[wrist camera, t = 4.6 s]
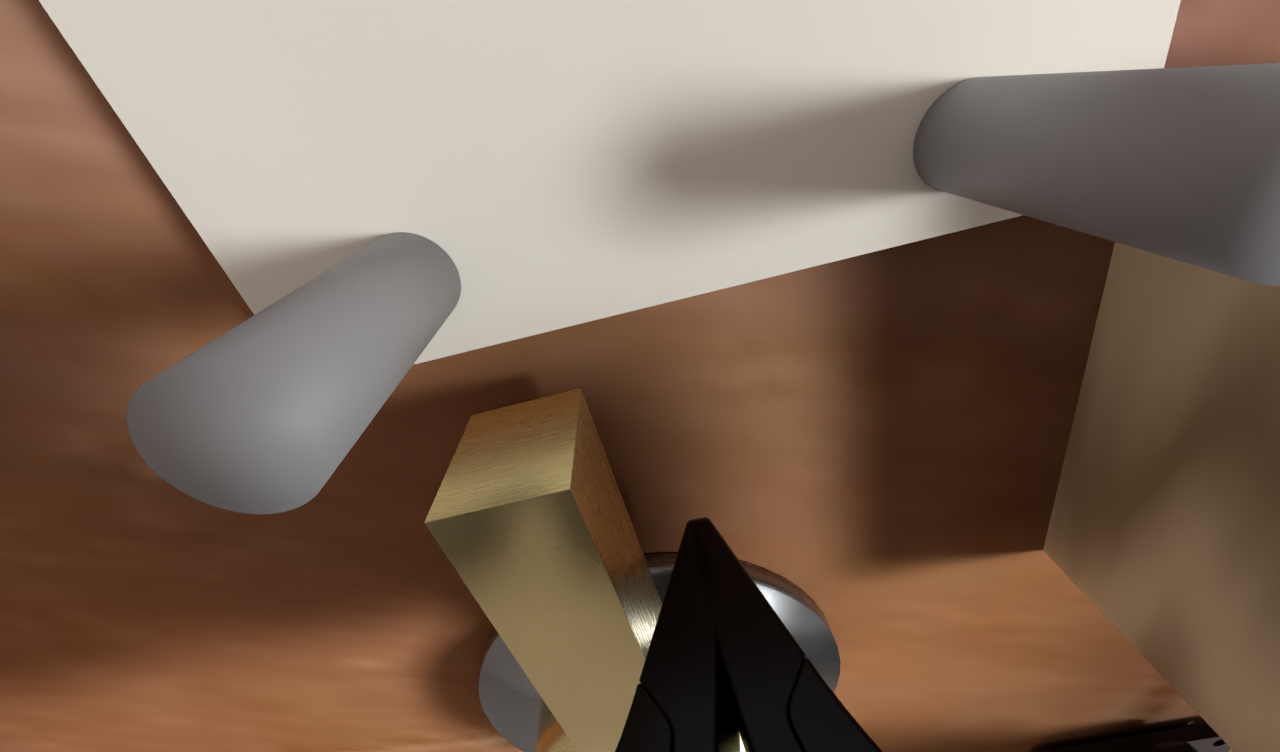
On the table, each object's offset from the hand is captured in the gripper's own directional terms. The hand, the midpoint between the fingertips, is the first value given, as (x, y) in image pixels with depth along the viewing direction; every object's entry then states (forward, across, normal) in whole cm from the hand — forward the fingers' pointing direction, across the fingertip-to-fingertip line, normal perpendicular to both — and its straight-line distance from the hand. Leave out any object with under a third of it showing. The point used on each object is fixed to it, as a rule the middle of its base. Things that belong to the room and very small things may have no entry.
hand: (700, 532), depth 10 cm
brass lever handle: (0, +2, +3) cm, 4 cm away
